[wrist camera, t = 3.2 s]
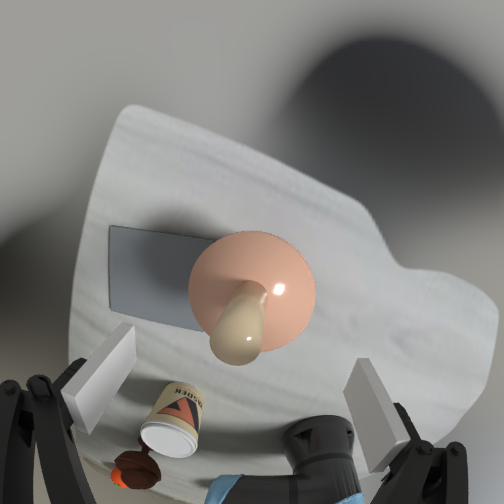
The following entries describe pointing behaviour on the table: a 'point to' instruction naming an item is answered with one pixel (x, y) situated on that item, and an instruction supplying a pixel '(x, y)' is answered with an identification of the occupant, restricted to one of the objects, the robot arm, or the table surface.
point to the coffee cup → (174, 421)
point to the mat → (153, 275)
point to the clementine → (117, 478)
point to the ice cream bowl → (138, 468)
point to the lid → (251, 295)
